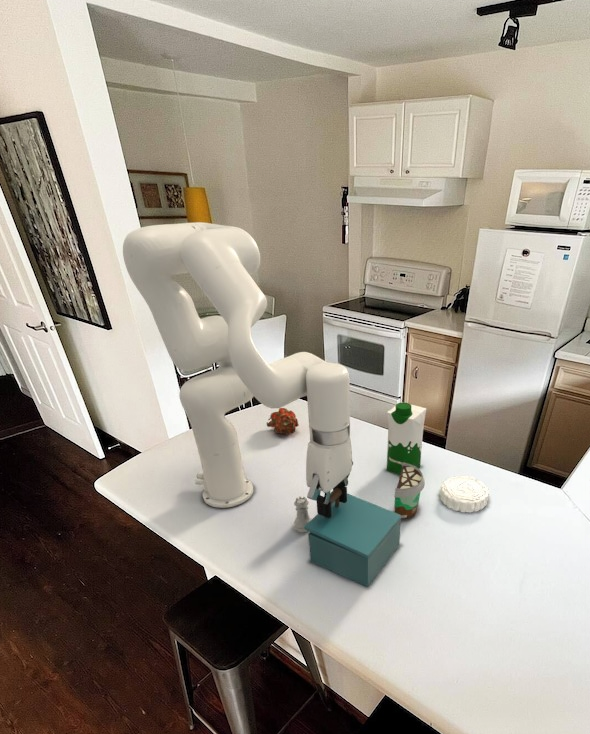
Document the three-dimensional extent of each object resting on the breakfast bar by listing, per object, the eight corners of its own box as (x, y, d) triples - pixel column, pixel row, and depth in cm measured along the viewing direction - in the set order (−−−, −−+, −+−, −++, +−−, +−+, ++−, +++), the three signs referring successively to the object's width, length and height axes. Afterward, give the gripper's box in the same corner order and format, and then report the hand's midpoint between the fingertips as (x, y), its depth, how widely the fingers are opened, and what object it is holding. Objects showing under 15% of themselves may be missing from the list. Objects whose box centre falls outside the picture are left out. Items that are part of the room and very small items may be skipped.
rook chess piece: (294, 521, 105) (291, 494, 101) (313, 520, 106) (311, 493, 101) (293, 533, 102) (290, 506, 97) (313, 532, 102) (310, 505, 97)
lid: (304, 529, 90) (303, 508, 86) (342, 493, 100) (342, 474, 96) (367, 558, 84) (369, 537, 81) (401, 518, 94) (403, 498, 91)
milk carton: (382, 471, 123) (383, 405, 112) (398, 457, 130) (401, 392, 118) (409, 480, 119) (414, 413, 108) (424, 465, 126) (430, 400, 114)
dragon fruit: (294, 444, 138) (274, 435, 147) (309, 422, 140) (289, 415, 148) (276, 429, 132) (257, 420, 141) (292, 406, 134) (272, 399, 142)
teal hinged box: (310, 561, 94) (307, 534, 90) (345, 524, 104) (345, 498, 100) (367, 587, 88) (367, 558, 84) (399, 545, 99) (401, 518, 94)
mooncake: (467, 519, 106) (469, 507, 104) (430, 497, 113) (431, 485, 111) (497, 500, 113) (499, 488, 110) (460, 479, 120) (461, 468, 118)
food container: (419, 527, 103) (422, 493, 98) (393, 524, 104) (394, 489, 99) (424, 497, 113) (427, 464, 108) (400, 494, 114) (402, 461, 109)
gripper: (338, 409, 90) (339, 482, 100) (284, 445, 78) (292, 524, 88) (370, 418, 87) (368, 492, 97) (319, 457, 75) (324, 537, 85)
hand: (332, 507), depth 93 cm, fingers closed on lid, 5 cm apart
